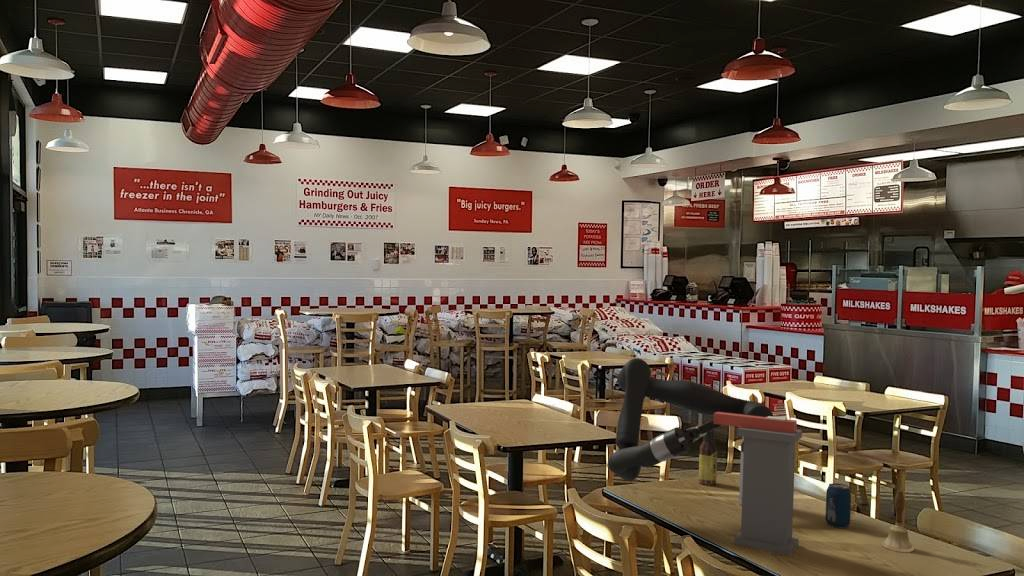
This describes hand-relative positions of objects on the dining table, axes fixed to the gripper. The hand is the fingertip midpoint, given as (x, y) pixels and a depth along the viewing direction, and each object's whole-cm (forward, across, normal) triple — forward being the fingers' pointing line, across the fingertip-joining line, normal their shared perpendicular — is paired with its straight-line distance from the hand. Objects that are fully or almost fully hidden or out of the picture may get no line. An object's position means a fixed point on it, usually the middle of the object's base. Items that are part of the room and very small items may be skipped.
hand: (717, 422), depth 231 cm
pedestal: (-3, 0, +35) cm, 35 cm away
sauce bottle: (-34, +57, +18) cm, 69 cm away
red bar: (+9, 0, +5) cm, 10 cm away
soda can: (+8, +32, +42) cm, 53 cm away
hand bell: (+23, +20, +51) cm, 60 cm away
